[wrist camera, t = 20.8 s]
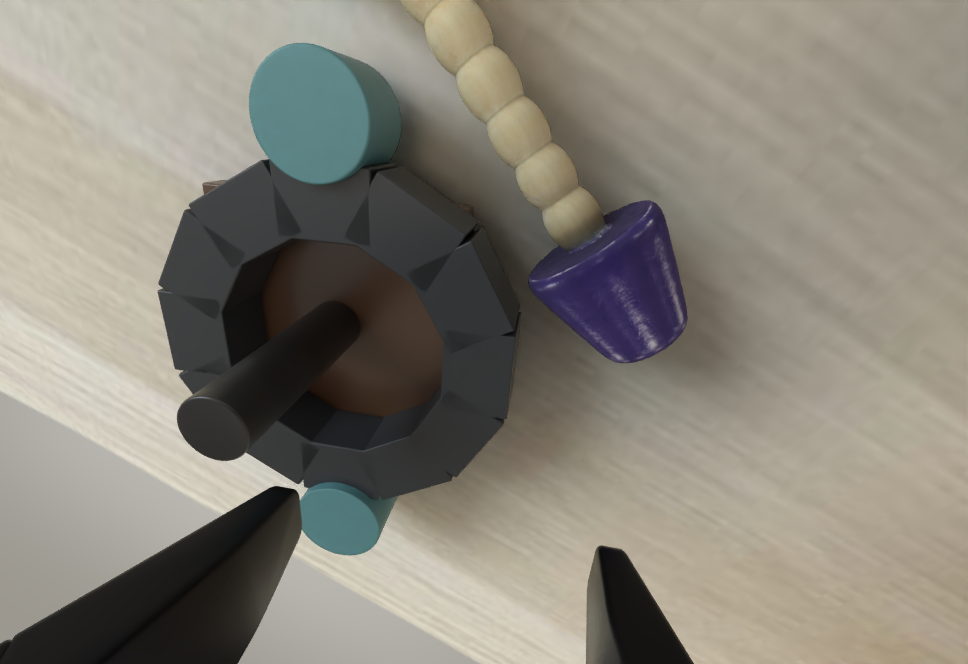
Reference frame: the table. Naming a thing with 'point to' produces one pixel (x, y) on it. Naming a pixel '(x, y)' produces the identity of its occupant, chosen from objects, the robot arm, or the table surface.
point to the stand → (321, 348)
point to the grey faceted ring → (380, 233)
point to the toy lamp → (564, 203)
